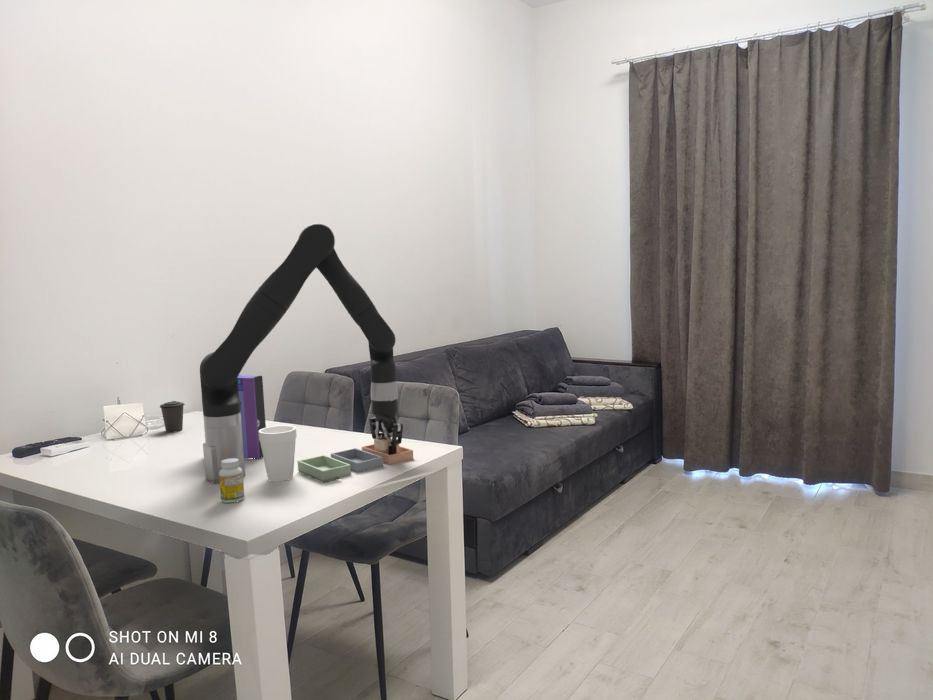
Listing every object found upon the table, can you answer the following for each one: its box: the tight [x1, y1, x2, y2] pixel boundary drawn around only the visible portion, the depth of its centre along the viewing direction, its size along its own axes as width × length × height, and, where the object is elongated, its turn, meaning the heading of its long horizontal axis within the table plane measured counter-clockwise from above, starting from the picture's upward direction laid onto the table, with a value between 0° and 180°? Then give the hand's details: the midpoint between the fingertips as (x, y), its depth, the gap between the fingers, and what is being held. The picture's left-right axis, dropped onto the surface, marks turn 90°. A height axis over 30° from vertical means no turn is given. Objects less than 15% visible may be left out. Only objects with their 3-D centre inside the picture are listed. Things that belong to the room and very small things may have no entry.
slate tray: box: [330, 448, 384, 473], centre depth 192 cm, size 8×14×3 cm, turn 40°
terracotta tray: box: [361, 443, 414, 465], centre depth 198 cm, size 8×14×3 cm, turn 40°
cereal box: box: [238, 374, 267, 460], centre depth 206 cm, size 17×5×24 cm, turn 73°
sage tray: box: [297, 454, 352, 483], centre depth 186 cm, size 8×14×3 cm, turn 40°
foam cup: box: [258, 424, 298, 482], centre depth 182 cm, size 10×9×13 cm
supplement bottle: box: [219, 458, 245, 504], centre depth 166 cm, size 5×5×10 cm
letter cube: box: [373, 437, 400, 455], centre depth 198 cm, size 5×5×5 cm
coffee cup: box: [159, 400, 186, 433], centre depth 244 cm, size 8×8×10 cm
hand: (387, 456), depth 198 cm, fingers closed on letter cube, 5 cm apart
